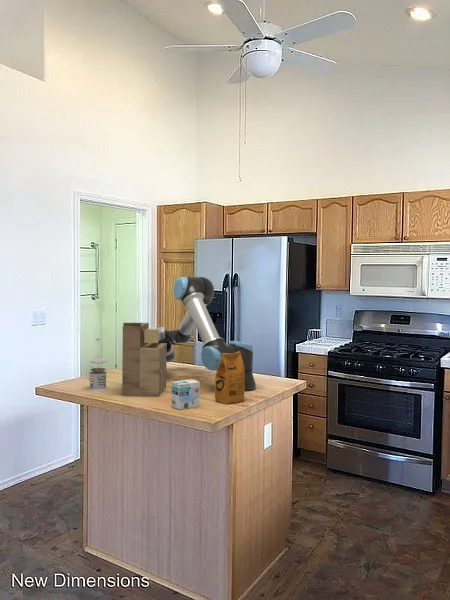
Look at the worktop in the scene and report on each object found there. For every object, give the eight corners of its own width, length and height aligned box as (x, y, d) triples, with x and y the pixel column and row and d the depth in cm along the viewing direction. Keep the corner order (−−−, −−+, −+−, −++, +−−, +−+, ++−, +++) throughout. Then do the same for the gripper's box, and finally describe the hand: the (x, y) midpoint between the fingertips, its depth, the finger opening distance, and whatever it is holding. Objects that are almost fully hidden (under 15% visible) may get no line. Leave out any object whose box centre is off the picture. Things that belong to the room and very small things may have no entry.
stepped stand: (132, 386, 258) (132, 319, 257) (166, 387, 258) (166, 320, 256) (122, 395, 239) (122, 323, 237) (158, 396, 238) (159, 324, 236)
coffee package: (211, 400, 232) (212, 351, 231) (234, 397, 239) (234, 349, 238) (224, 405, 224) (225, 354, 223) (247, 401, 231) (248, 352, 230)
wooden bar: (155, 335, 268) (155, 323, 268) (167, 335, 268) (167, 324, 267) (144, 342, 240) (144, 329, 240) (157, 343, 240) (157, 330, 239)
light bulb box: (178, 410, 215) (179, 384, 215) (170, 406, 221) (170, 381, 220) (200, 406, 222) (200, 381, 221) (191, 403, 227) (192, 378, 227)
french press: (112, 388, 253) (112, 337, 252) (94, 393, 243) (94, 340, 242) (98, 386, 258) (98, 336, 257) (80, 390, 249) (80, 338, 247)
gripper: (180, 353, 277) (174, 336, 256) (148, 352, 278) (140, 335, 257) (181, 340, 280) (175, 322, 260) (149, 339, 281) (142, 322, 260)
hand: (158, 329), depth 258 cm, fingers closed on wooden bar, 4 cm apart
